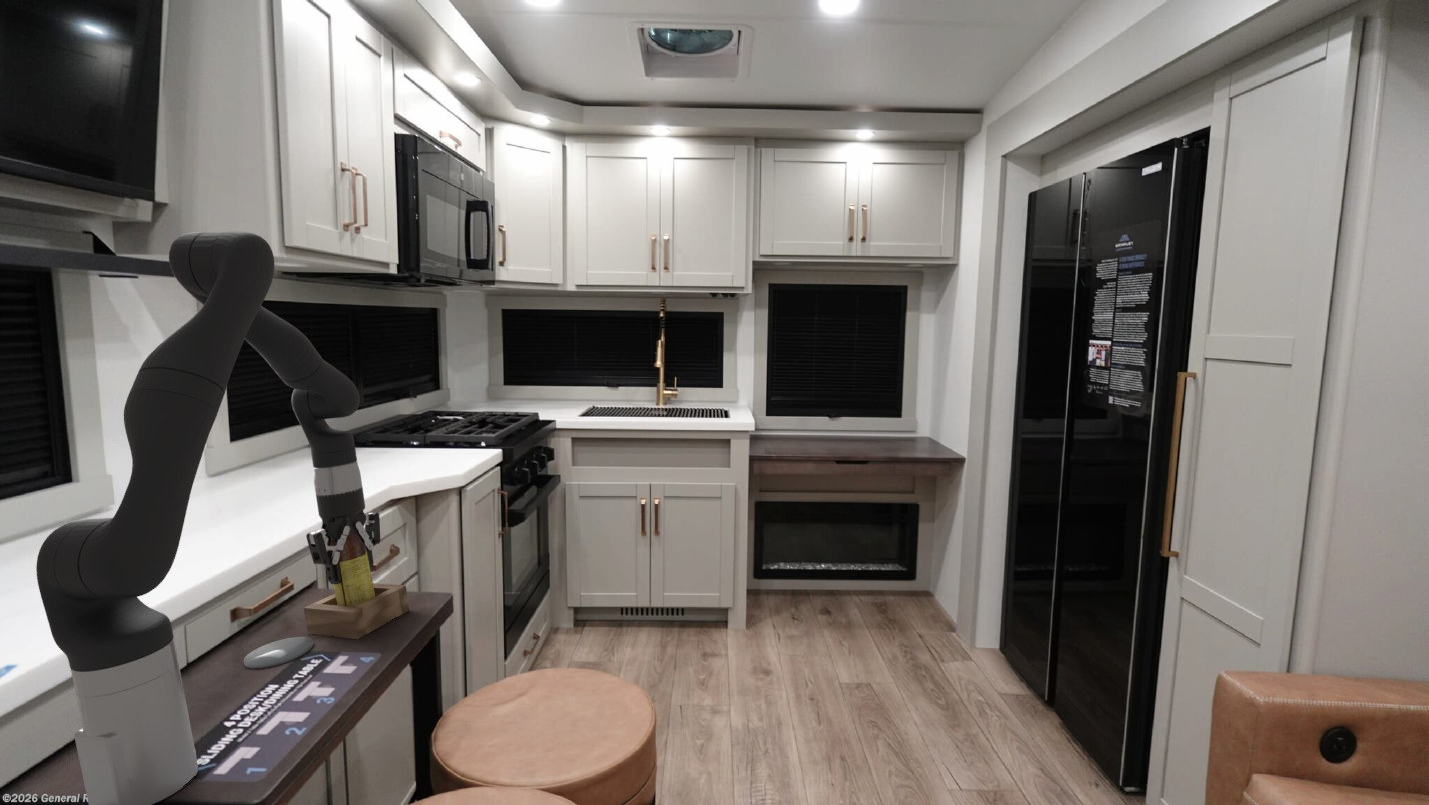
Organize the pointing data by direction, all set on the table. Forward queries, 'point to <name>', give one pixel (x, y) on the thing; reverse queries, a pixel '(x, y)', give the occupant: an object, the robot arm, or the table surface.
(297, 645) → the slate coaster
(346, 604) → the sauce bottle
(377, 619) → the walnut holder
